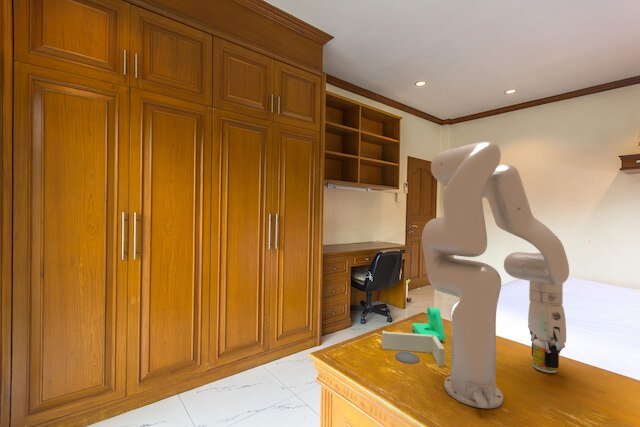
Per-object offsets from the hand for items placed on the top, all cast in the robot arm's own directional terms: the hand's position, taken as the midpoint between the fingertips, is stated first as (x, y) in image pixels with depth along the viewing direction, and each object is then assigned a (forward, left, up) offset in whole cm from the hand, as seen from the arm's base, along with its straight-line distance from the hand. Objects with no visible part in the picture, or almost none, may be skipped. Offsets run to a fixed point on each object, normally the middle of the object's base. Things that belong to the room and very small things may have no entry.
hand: (544, 361), depth 83 cm
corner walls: (+2, +36, -2) cm, 36 cm away
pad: (0, +37, -2) cm, 38 cm away
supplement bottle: (0, 0, -2) cm, 2 cm away
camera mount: (+19, +28, -3) cm, 34 cm away
